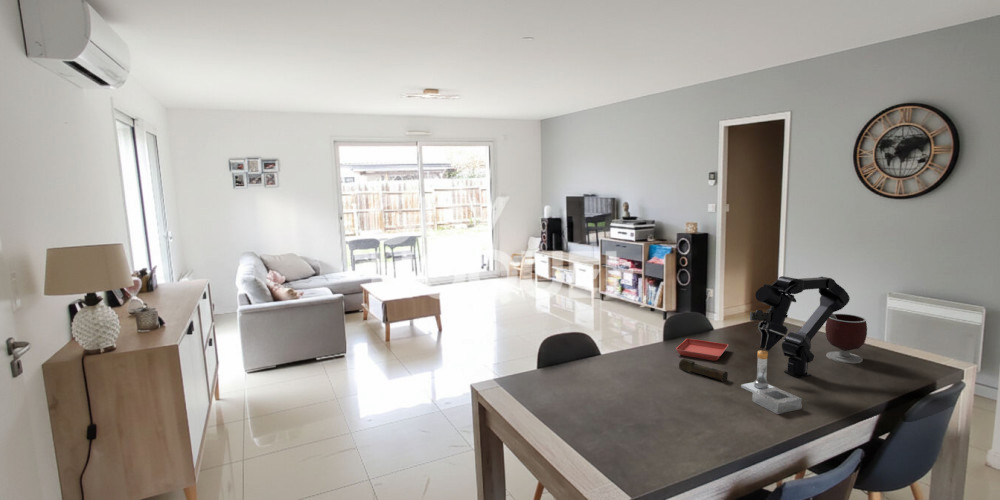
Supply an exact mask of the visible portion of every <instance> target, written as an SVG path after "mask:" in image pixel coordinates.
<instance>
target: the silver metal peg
mask: <svg viewBox="0 0 1000 500" xmlns="http://www.w3.org/2000/svg"><path fill="white" fill-rule="evenodd" d="M768 355H769V352H768V351H767V350H763V349H762V350H757V363H756V364H757V365H756V367H757V368H756V379H754V381H753V382H754V387H755V388H757V389H761V390H763V389H768V384H769V381H768V380H767V376H768V375H767V374H768V373H767V371H768V358H769V356H768Z"/></svg>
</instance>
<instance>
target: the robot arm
mask: <svg viewBox="0 0 1000 500" xmlns="http://www.w3.org/2000/svg"><path fill="white" fill-rule="evenodd" d="M805 290H806V291H807V290H818V293H819V295H820V297H819V306H818V307H816V309H815V310H814V311H813V313H812V314H811V315H810V316H809V317H808V319H807V320H806V322H805V323H804V324H803V326H801V328H800V329H799V330H798V331H797V332H792V331H790V332H788V328H787V326H786V325H784V323H785V321H786V318H788V316H789V315H788V312H789V310H790V307H791V304H792V302H793V303H797V300H796V298H795V295H798V294H801V293H803V292H804V291H805ZM755 299H756V300H757V301H758V302H760V303H762V304H765V305H767V306H769V307H770V308H769V309H767V310H766V312H764V311H763V310H762V309H756V310H755V312H754V311H753V312H751V311H749V321H751V322H756V321H757V322H758V321H759V322H758V326H757V328H758V330H759V332H760V334H761V336H760V346H759V348H760V349H762V350H764V349H765V350H764V351H767V352H768V351H770V350H771V349H772V348H773V347H774V346H775V345H777V343H779V341H780V340H782V339H783V341H782V343H781V348H782V352H783V356H785V357H788V358H787V359H788V362H787V370H784V372H783V373H785V374H788V375H791V376H793V377H796V378H797V379H798V378H799V379H800V378H804V377H810V376H812V373H809V372H808V369H809V368H808V367H809V366H808V365H809V363H811V362H813V360H814V358H815V355H814V353H812V351H811V350H810V349H811V348H812V344H811V343H812V340H813V338H814V337H815V336H816V334H818V332H819V331H820V330H821V328H822V327H823V326H824V324H826V321H827V319H828V318H829V317H830V316H831V314H832V313H833V314H834V313H836V312H838V311H841V310H842V309H844V308H845V307H846V306H847V305H848V303H849V302H850V295H849V293H848V292H847V291H846V289H844V288H843V287H842V286H841V285H840V284H838V283H837V282H836V281H835V279H833V278H831V277H827V276H826V277H825V276H819V277H807V278H806V277H805V278H796V277H791V276H784V275H783V276H779V277H778V279H776V280H775V281H774V282H772V283H771V284H767V283H764V284H763V286H761V287H759V288H758V289H757V290H756V292H755Z"/></svg>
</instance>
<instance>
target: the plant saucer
mask: <svg viewBox="0 0 1000 500" xmlns="http://www.w3.org/2000/svg"><path fill="white" fill-rule="evenodd" d="M728 347H729V344H728V343H722V342H721V343H720V342H714V341H708V340H700V339H694V338H686V339H684V341H683V342H681V343H680V344H679V345H678V346H677V347H676V348H675V351H676V352H677V353H678V354H679V355H681V356H684V357H690V358H697V359H700V360H701V359H702V360H708V361H714V362H715V361H718V360H719V359H720V357H721V356H722V355H723V354H724V352H725V351H726V350H727V349H728Z"/></svg>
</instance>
